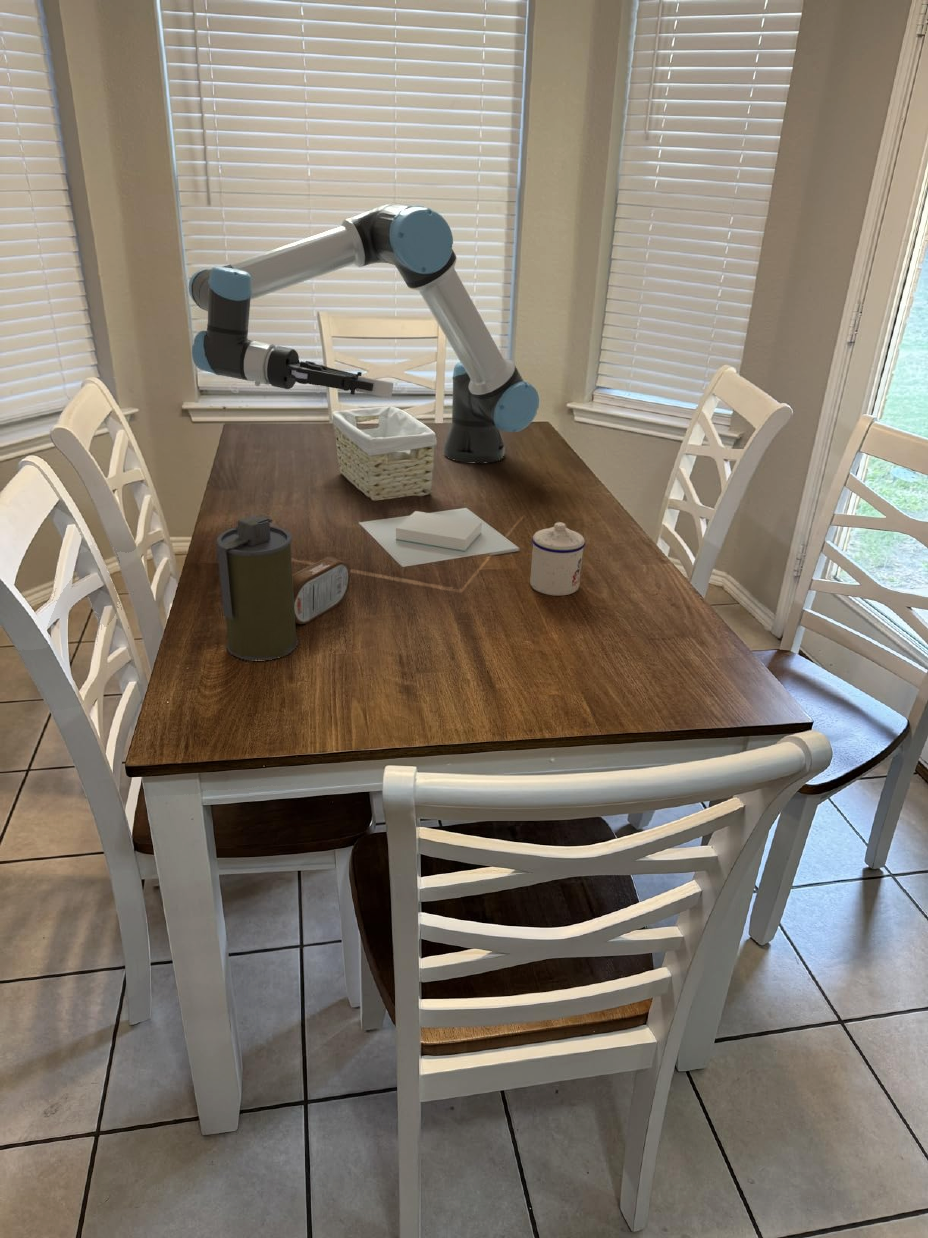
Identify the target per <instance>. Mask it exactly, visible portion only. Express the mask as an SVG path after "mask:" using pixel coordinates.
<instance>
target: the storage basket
mask: <svg viewBox="0 0 928 1238" xmlns="http://www.w3.org/2000/svg"><path fill="white" fill-rule="evenodd" d="M375 420H378V426H377V427H375V428H374V427H372V428H363V429H359V428H358V427H357V422H363V421H365V422H367V421H375ZM331 422H332V425H333V431H334V432H333V434H334V436H335V443H336V444H335V446H336V455H337V462H338V470H339V472H340V474H341V475H343V476H344V477H345V478H346V479H347V480H348V482H349V483H351V484H352V485H354V486H355V488H357V490H359V491H360V492H362V493H364V495H365V496H366V497H367V498H370V499H371V501H382V500H390V499H397V498H398V499H399V498H403V497H410V496H411V497H412V496H417V497H424V496H428V495H431V493H432V486H433V481H432V480H433V475H434V473H433V471H434V467H435V466H434V463H435V462H434V460H435V457H434V456H435V448H436V445H437V444H438V441H437V435H436V433H435V432H434V431H433V429H431V428H430V427H428V425H426V424H425V423H423V422H421V421H420V420H418V419H417V418H415V417H414V416H413V415H410V414H409V413H407V412H406V411H405V410H402V409H400V408H398V407H395V406H393V405H390V406H380V407H379V406H378V407H375V406H374V407H365V408H364V407H363V408H356V409H355V408H354V409H351V408H350V409H346V410H335V411H333V412H332V419H331Z"/></svg>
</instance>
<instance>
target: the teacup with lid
mask: <svg viewBox="0 0 928 1238" xmlns="http://www.w3.org/2000/svg"><path fill="white" fill-rule="evenodd" d="M531 542H532V552H531V568H530V569H531V570H530V579H529V580H530V581H529V583H530V586H531V587H532V589H534V590H535V591H536V592H538V593H541V594H544V595H548V596H556V597H557V596H558V597H559V596H560V597H561V596H567V595H568V596H569V595H571V594H574V593H575V592H577V591H578V590H579V589H580V582H581V572H582V566H583V565H582V564H583V553H584V548H585V547H586V541H585V538H584V537H583V535H582V534H580V533H579V532H577V531H575V530H572V529H569V528H568V527H567V525H566V523H564V522H560V521H559V522H556V523H554V525H553V526H552V527H548V528H543V529H539V530H537V531H536V532H535V533H534V534H533V536H532V539H531Z"/></svg>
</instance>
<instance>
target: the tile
mask: <svg viewBox="0 0 928 1238" xmlns="http://www.w3.org/2000/svg"><path fill="white" fill-rule="evenodd" d="M431 513H432V512H424V511H418V510H415V511H414V512H413V513H411V514H410V515H408V516H409V517H408V518H407V519H406V520H404V521H403V522H402V523H401V524H400V525H399V526H398V527H396V540H398V541H404V542H409V543H415V544H421V545H427V546H433V547H438V548H444V549H450V550H456V551H462V552H465V551H466V550H467V549H468V548H469V547H470V546H471V544H472V543H473V542H474V541H475V540H476V539H477V538H478V537H479V536H480V534H481V529H482V522H481V521H475V520H468V519H462V518H456V517H450V516H444V515H437V514H431Z"/></svg>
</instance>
